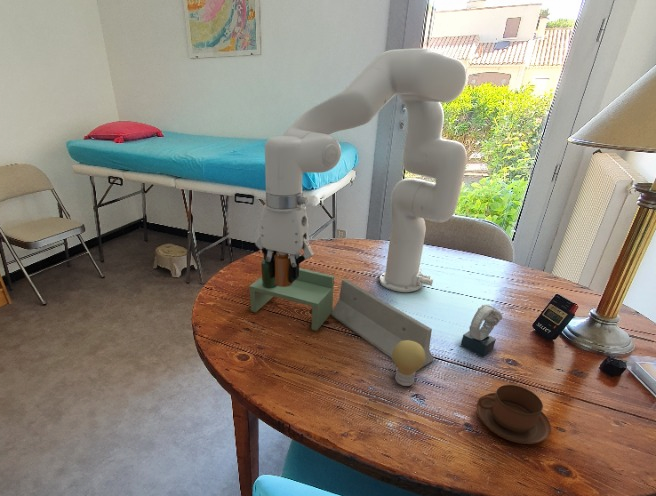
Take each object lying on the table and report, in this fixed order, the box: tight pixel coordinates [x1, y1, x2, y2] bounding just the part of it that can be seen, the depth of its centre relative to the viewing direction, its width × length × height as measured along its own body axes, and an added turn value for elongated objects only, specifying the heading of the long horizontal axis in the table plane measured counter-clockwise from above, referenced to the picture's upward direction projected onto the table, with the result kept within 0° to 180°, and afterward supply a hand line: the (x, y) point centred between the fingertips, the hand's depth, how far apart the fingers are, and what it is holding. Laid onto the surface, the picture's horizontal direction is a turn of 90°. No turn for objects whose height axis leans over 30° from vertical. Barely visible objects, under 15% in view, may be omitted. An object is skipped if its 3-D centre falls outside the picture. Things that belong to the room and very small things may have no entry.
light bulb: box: [392, 340, 425, 387], centre depth 83 cm, size 6×6×10 cm
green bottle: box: [260, 254, 277, 288], centre depth 106 cm, size 4×4×9 cm
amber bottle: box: [274, 251, 293, 287], centre depth 91 cm, size 4×4×9 cm
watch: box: [460, 304, 503, 358], centre depth 93 cm, size 6×8×11 cm
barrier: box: [330, 278, 435, 368], centre depth 97 cm, size 28×7×10 cm, turn 32°
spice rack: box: [249, 267, 335, 331], centre depth 108 cm, size 20×10×11 cm, turn 60°
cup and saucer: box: [476, 384, 552, 445], centre depth 74 cm, size 12×12×6 cm
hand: (283, 277), depth 92 cm, fingers closed on amber bottle, 4 cm apart
